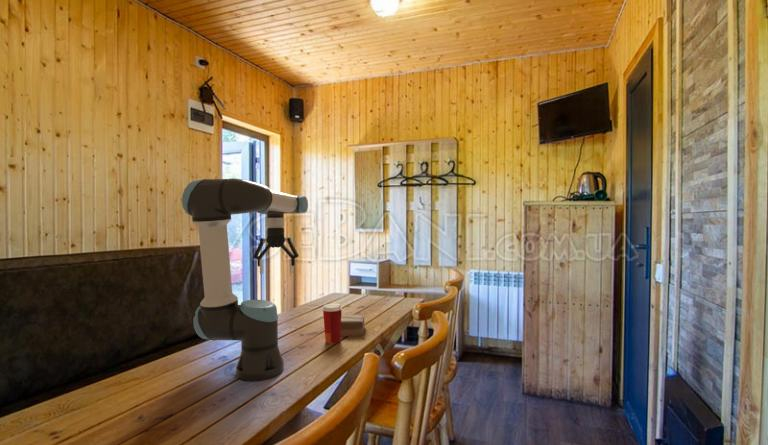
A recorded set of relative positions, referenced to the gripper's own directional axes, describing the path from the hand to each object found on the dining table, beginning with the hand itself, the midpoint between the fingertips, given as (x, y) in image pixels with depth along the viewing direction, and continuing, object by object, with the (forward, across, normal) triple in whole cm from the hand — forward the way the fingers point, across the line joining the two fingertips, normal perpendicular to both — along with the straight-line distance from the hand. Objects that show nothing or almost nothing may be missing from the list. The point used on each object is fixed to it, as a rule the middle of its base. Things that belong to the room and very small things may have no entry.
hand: (276, 273), depth 168 cm
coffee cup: (+27, -28, +17) cm, 42 cm away
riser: (+26, -34, +4) cm, 43 cm away
